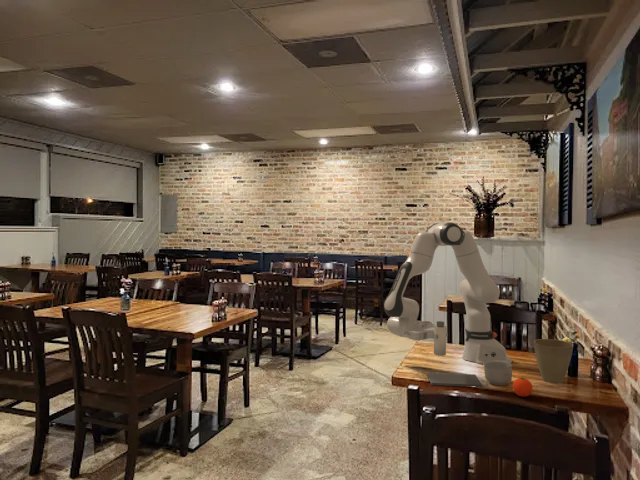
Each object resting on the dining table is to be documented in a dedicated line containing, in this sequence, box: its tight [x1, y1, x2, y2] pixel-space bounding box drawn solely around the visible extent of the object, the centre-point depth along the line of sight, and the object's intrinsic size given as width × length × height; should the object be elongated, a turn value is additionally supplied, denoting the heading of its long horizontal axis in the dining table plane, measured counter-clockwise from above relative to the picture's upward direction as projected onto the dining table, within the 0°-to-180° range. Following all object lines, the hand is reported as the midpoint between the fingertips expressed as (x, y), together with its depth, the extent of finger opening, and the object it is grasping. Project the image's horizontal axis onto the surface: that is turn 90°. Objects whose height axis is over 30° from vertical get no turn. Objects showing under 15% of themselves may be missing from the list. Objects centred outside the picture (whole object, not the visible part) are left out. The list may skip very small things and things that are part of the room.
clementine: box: [512, 376, 534, 398], centre depth 185 cm, size 8×7×7 cm
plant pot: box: [533, 338, 574, 384], centre depth 204 cm, size 15×15×16 cm
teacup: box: [483, 360, 513, 386], centre depth 202 cm, size 14×11×8 cm
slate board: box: [427, 371, 484, 388], centre depth 203 cm, size 20×14×1 cm
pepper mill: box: [433, 320, 447, 357], centre depth 211 cm, size 5×5×14 cm
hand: (441, 335), depth 210 cm, fingers closed on pepper mill, 5 cm apart
